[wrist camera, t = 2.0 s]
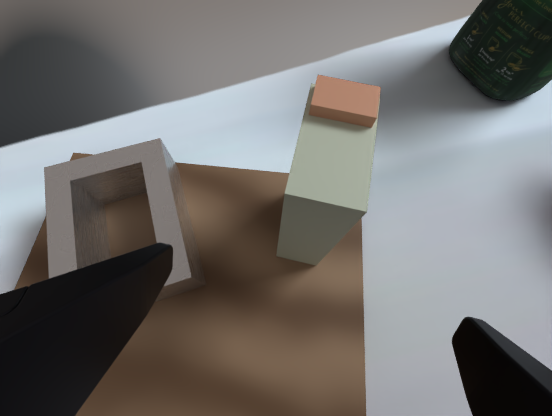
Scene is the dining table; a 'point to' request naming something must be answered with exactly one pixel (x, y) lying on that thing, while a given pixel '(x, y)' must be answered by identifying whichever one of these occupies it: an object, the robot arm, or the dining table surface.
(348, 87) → the keyed peg
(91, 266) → the robot arm
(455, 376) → the dining table surface
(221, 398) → the walnut board
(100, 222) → the keyed slot
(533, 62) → the coffee jar
